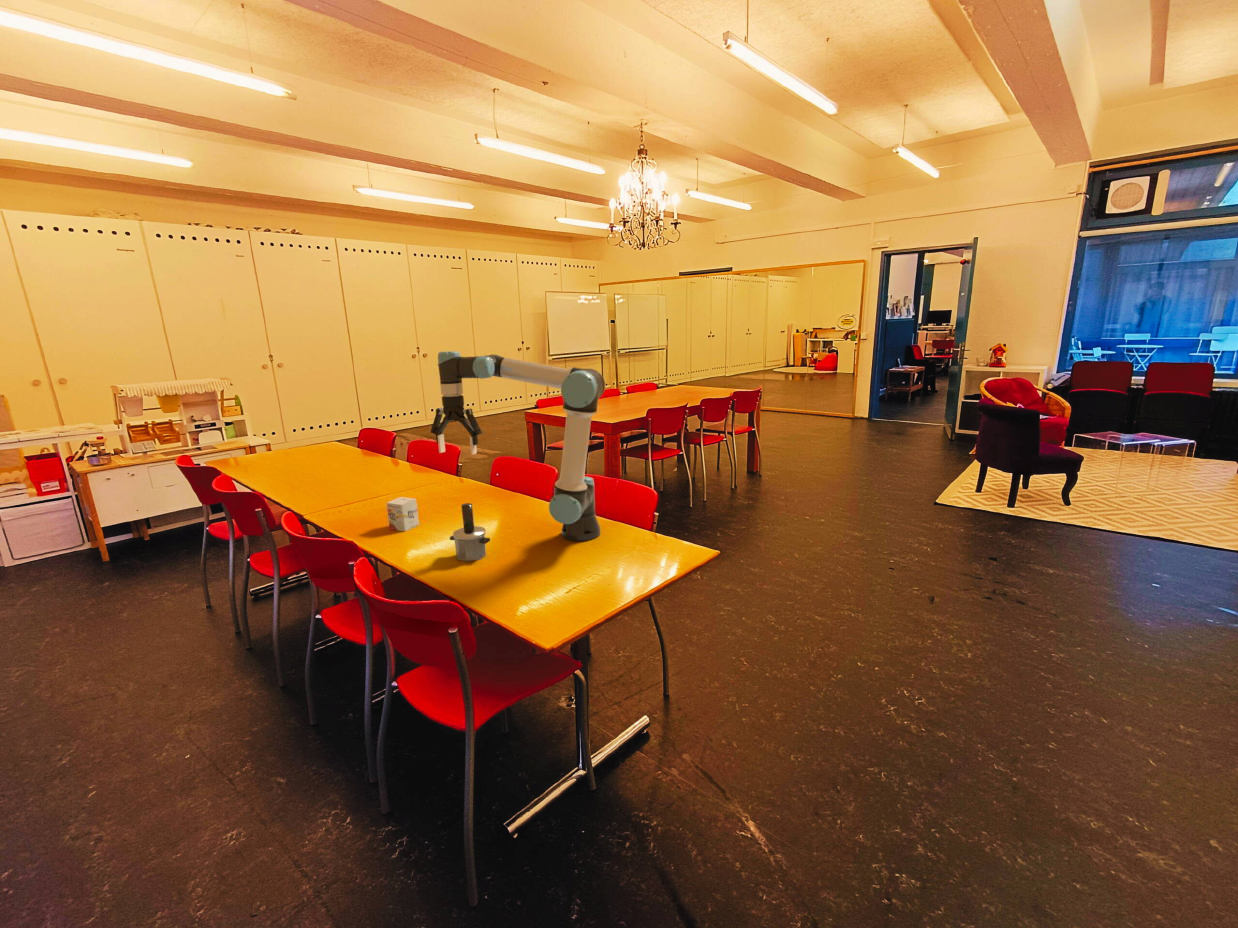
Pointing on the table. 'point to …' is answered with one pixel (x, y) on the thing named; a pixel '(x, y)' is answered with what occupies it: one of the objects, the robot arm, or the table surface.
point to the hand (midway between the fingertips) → (458, 453)
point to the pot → (470, 549)
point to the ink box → (402, 514)
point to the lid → (468, 526)
